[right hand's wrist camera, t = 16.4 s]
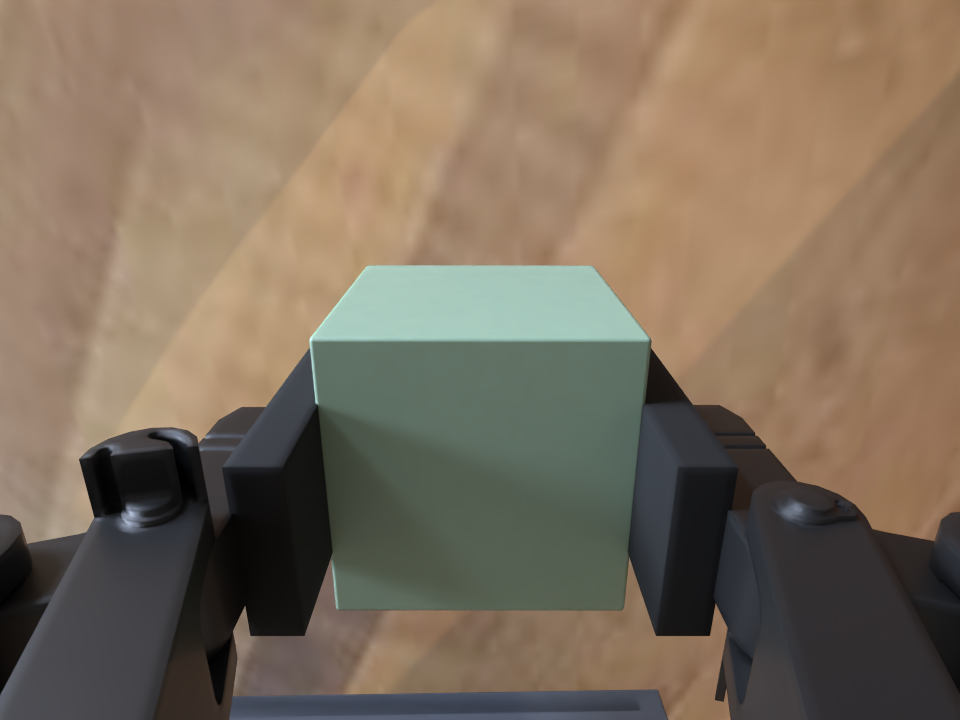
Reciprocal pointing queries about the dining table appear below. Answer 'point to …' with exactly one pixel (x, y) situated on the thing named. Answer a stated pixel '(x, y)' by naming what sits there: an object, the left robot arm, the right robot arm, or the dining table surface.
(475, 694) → the tray
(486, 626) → the dining table surface
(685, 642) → the dining table surface
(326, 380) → the sage block
